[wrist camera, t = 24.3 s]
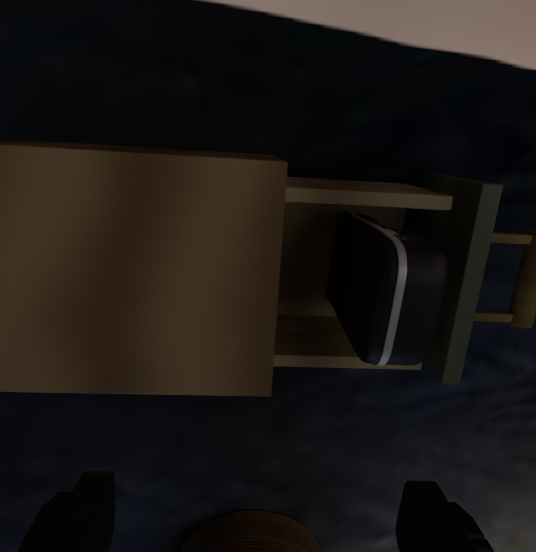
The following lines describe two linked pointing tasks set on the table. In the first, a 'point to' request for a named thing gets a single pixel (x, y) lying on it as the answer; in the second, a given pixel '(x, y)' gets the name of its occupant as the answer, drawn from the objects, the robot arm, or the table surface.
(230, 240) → the cabinet
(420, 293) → the battery charger
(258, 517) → the wooden container
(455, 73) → the table surface
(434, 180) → the drawer
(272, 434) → the table surface
